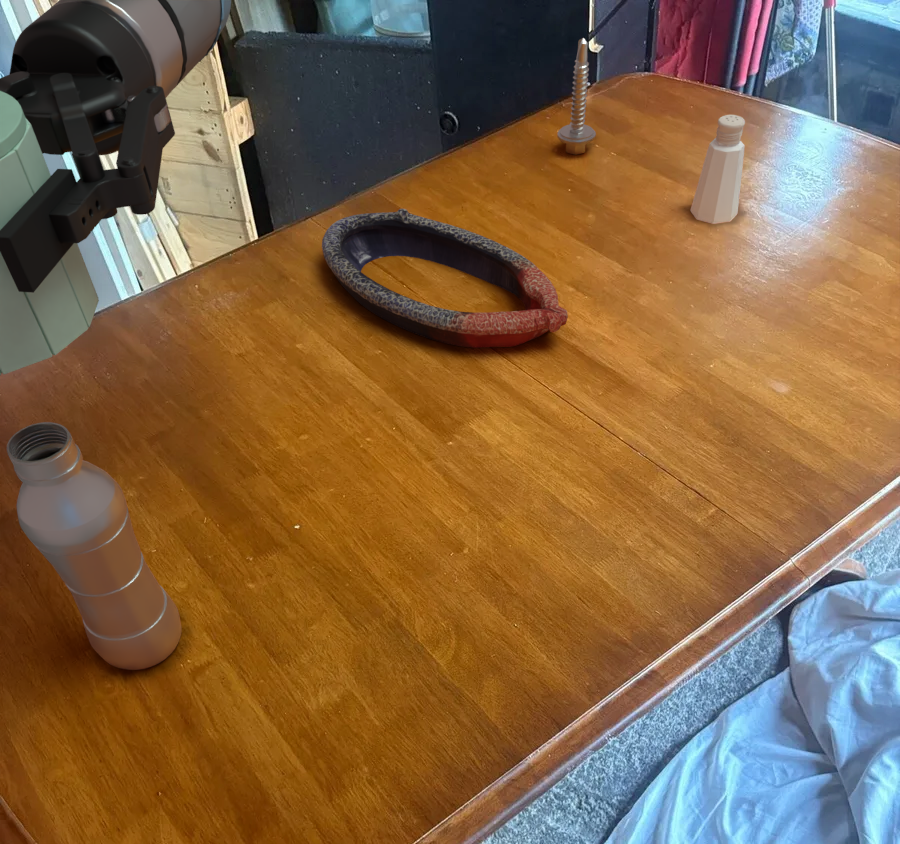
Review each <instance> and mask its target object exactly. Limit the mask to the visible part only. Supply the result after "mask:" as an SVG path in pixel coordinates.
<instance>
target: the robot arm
mask: <svg viewBox="0 0 900 844" xmlns="http://www.w3.org/2000/svg"><path fill="white" fill-rule="evenodd" d="M231 7H232V0H58V1H56V3H54V4H53V5H52V6H51V7H50V8H49V9H47V10H46V11H45V12H43V13H42V14H41V15H40V16H38V17H37V18H36V19H35V20H34V21H32V22H31V23H30V24H29V25H27V27H25V28H24V29H23V30H22V31H21V33H20V34H19V36H18V37H17V39H16V41H15V43H14V46H13V50H12V54H11V60H10V61H11V62H10V68H9V73H8V75H4V76H1V77H0V91H2V92H4V93H7V94H8V95H10V96H12V97H13V98H14V99H15V100H17V101H18V103H19V104H20V106H21V107H22V110H23V113H24V115H25V118H26V119H27V120H28V121H29V122H30V124H31V126H32V128H33V131H34V133H35V136H36V139H37V141H38V144H39V146H40V149H41V151H42V154H43V155H44V154H46V155H50V156H51V155H53V156H55V155H56V156H63V155H64V154H66V153H71V156H72V159H73V163H74V164H75V168H76V171H77V173H78V175H79V178H78V180H77V179H76V176H75V174H74V171H73V169H72V168H57V169H56V170H55V171H54V172H53V173H52V174H50V175H51V176H50V178H49V179H48V180H47V181H46V182H45V183H44V184H43V185H42V186H41V187H40V188H39V189H38V190H37V191H36V193H35V194H34V195H33V196H32V197H31V198H30V199H29V200H28V201H27V202H26V203H25V204H24V205H23V206H22V208H21V209H20V210H19V211H18V212H17V213H16V214H15V215H14V216H13V217H12V218H11V219H10V220H9V221H8V223H7V224H6V225H5V226H4V227H3V228H2V229H1V230H0V252H1V254H2V256H3V259H4V261H5V263H6V265H7V267H8V269H9V272H10V274H11V276H12V278H13V280H14V282H15V284H16V287H17V289H18V291H19V292H32V293H34V291H35V290H36V289H37V288H38V287H39V285H40V284H41V283H42V282H43V280H44V279H45V278H46V277H47V276H48V274H49V273H50V272H51V271H52V269H53V268H54V267H55V266H56V265H57V263H58V262H59V261H60V260H61V258H62V257H63V256H64V255H65V254H66V252H67V251H68V250H69V249H70V247H71V246H72V245H73V244H74V243H77V244H80V243H82V242H84V241H85V240H86V239H87V238H88V237H89V236H90V234H92V232H93V231H94V230H95V228H96V227H97V226H98V225H99V223H100V222H101V221H102V220H106V219H107V220H108V219H111V218H113V217H115V216H116V215H117V214H118V209H121V208H126V207H127V208H128V207H130V210H131V213H132V214H133V215H137V216H138V215H139V216H143V215H148V214H151V213H152V212H153V211H154V210H155V208H156V203H157V193H158V187H159V180H160V173H161V166H162V165H161V164H162V158H163V157H162V156H163V150H164V148H165V147H166V146H167V145H168V144H169V142H171V140H172V139H173V138H174V136H175V135H176V131H175V128H174V124H173V120H172V117H171V112H170V109H169V106H168V102H167V97H168V96H169V95H170V94H171V93H172V91H173V90H174V89H176V88H177V86H179V84H180V83H181V82H182V81H183V80H185V78H186V76H187V75H188V74H190V72H191V71H192V70H193V69H194V68H195V67H196V66H197V65H198V64H199V63H200V62H201V61H202V60H203V59H205V57H207V56H208V55H209V53H210V52H211V51H212V50H213V49H214V48H215V46H216V44H217V42H218V40H219V37H220V35H221V34H222V32H223V30H224V28H225V26H226V25H227V22H228V19H229V16H230V13H231ZM115 153H117V157H116V163H115V165H116V168H110V169H104V166H103V162H102V160H101V157H100V156H107V155H112V154H115Z"/></svg>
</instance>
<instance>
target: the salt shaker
mask: <svg viewBox="0 0 900 844" xmlns="http://www.w3.org/2000/svg"><path fill="white" fill-rule="evenodd" d="M745 125H746V119H744V117H742V116H740V115H737V114H724V115H722V116H720V117H719V118H718V120H717V129H716V135H715V137H714V139H712V141H711V142H709V144H708V146H707V150H706V154H705V158H704V161H703V164H702V167H701V171H700V175H699V178H698V182H697V185H696V189H695V192H694V196H693V199H692V203H691V206H690V212H691V214H692V215H693V217H694V218H695V219H696V220H698V221H701V222H705V223H707V224H712V225H716V224H723V223H730V222H732V220H733V219H734V218H736V216H738V213H739V205H740V196H741V195H740V194H741V187H742V186H741V185H742V178H743V177H742V176H743V167H744V158H745V144H744V143H743V141H742V139H741V138H742V135H743V132H744V127H745Z"/></svg>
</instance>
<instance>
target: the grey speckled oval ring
mask: <svg viewBox="0 0 900 844" xmlns="http://www.w3.org/2000/svg"><path fill="white" fill-rule="evenodd" d="M321 249H322V254H323V258H324V260H325V262H326V264H327V266H328V268H329V269H330V270H331V272H332V273H333V275H334V276H335V278H336V280H337V281H338V282H339V284H340V285H341V286H342V287H343V288H344V290H345V291H346V292H347V293H348V294H349V295H350V296H351V297H352V298H353V299H354V300H355V301H357V303H359V304H360V305H361V306H362V307H364V308H365V309H366V310H367V311H369V312H371V313H372V314H374V315H375V316H377V317H379V318H381V319H383V320H384V321H386V322H388V323H390V324H392V325H394V326H397V327H398V328H401V329H403V330H406V331H408V332H410V333H413V334H415V335H417V336H421V337H423V338H426V339H428V340H432V341H435V342H439V343H442V344H447V345H452V346H457V347H463V348H474V349H479V348H480V349H481V348H497V347H498V348H508V347H516V346H519V345H522V344H525V343H528V342H529V341H532V340H534V339H536V338H539V337H541V336H543V335H545V333H547V332H550V333H556V332H558V331H559V330H560V328H561V326H565V325H566V324H567V321H568V318H569V316H568V310H567V309H565V308H563V307H562V306H560V305H559V296H558V293H557V289H556V287H555V286H554V284H553V283H552V281H551V280H550V279H549V277H548V276H547V275H546V274H545V273H544V272H543V271H542V270H541V269H540V268H539V267H537V265H536V264H535V263H533V262H532V261H531V260H529V259H528V258H526V257H525V256H523V255H522V254H520V253H518V252H516V251H515V250H513V249H511V248H509V247H507V246H505V245H503V244H501V243H499V242H497V241H495V240H494V239H493V240H492V239H491V238H488V237H486V236H483V235H481V234H478V233H476V232H474V231H470V230H467V229H465V228H461V227H458V226H455V225H452V224H448V223H445V222H441V221H438V220H434V219H431V218H427V217H423V216H419V215H416V214H412V213H410V212H409V211H408V209H406V208H399V209H398V210H397V211H393V212H392V211H390V212H369V213H367V212H366V213H360V214H353V215H350V216H345V217H343V218H341V219H338V220H336V221H335V222H333V223H332V224H331V225H330V226H329V227H328V228H327V229H326V231H325V233H324V235H323V237H322V239H321ZM387 257H409V258H416V259H421V260H425V261H429V262H433V263H436V264H439V265H442V266H445V267H448V268H451V269H455V270H457V271H459V272H462V273H465V274H467V275H470V276H472V277H475V278H477V279H479V280H482V281H484V282H486V283H489V284H491V285H494V286H496V287H499V288H501V289H503V290H505V291H507V292H509V293H511V294H513V295H514V296H515V297H516V298H518V300H520V301H521V302H522V304H523V306H524V309H525V310H514V311H513V310H512V311H490V312H472V311H470V312H469V311H460V310H453V309H447V308H442V307H438V306H434V305H430V304H427V303H424V302H421V301H418V300H415V299H412V298H410V297H407V296H405V295H403V294H400V293H398V292H396V291H394V290H391V289H390V288H387V287H385V286H384V285H382V284H381V283H378V282H377V281H375V280H373V279H372V278H370V277H369V276H367V275H366V274H365V273H363V272H362V270H363V268H364V267H365V266H366V265H367V264H368V263H370V262H372V261H374V260H378V259H382V258H387Z"/></svg>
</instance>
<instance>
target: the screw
mask: <svg viewBox="0 0 900 844" xmlns="http://www.w3.org/2000/svg"><path fill="white" fill-rule="evenodd" d="M577 41H578V42H577V54H576V59H575V60H574V63H575V65H574V66H573V68H574V70H573V71H572V73H573V74H574V75H573V76H572V79H573V81H572V84H573V86H572V87H571V89H572V90H573V91H572V92H571V94H572V97H571V100H572V102H570V104H571V107H570V109H571V111H570V115H571V117H569V118H570V120H571V121H570V122H569V124H566V125H564V126H562V127H561V128H560V129H559V130H558V131H557V139H558V140H559V141H560V142H562V143H564V144H565V153H566V154H569V155H573V156H577V155H581V154H584V153H586V145H587V144H589V143H591V142H593V141H595V139H596V137H597V133H596V131H595V129H593V127H592V126H590V125H587V124H585V122H586V120H585V119H586V111H587V110H586V108H587V97H588V94H587V92H588V86H589V85H588V82H589V78H588V77H589V75H590V74H589V71H590V68H589V65H590V62H588V46H589V44H588V43H589V42H588V41H587V40H586V38H584V37H582V38H580V39H579V40H577Z"/></svg>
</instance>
